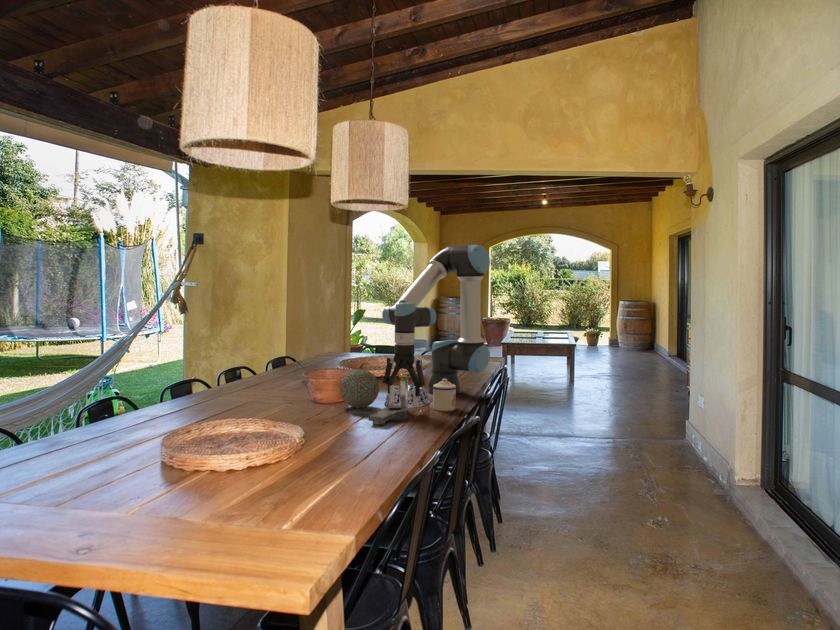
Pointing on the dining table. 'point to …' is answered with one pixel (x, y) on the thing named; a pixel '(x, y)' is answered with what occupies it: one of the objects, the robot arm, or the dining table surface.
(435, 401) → the beige lidded jar
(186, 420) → the dining table surface
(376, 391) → the decorative sphere
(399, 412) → the grey flat angular block
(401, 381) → the pin
